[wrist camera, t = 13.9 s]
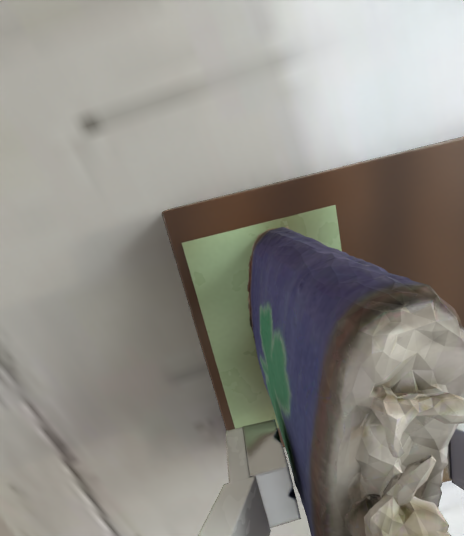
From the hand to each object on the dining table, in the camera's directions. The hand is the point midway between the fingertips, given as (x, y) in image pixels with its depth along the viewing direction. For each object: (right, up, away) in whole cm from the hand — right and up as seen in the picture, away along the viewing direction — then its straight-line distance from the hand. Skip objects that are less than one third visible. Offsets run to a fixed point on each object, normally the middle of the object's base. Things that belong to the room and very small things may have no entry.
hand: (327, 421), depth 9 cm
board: (+5, +3, +7) cm, 9 cm away
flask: (-1, +2, +6) cm, 6 cm away
